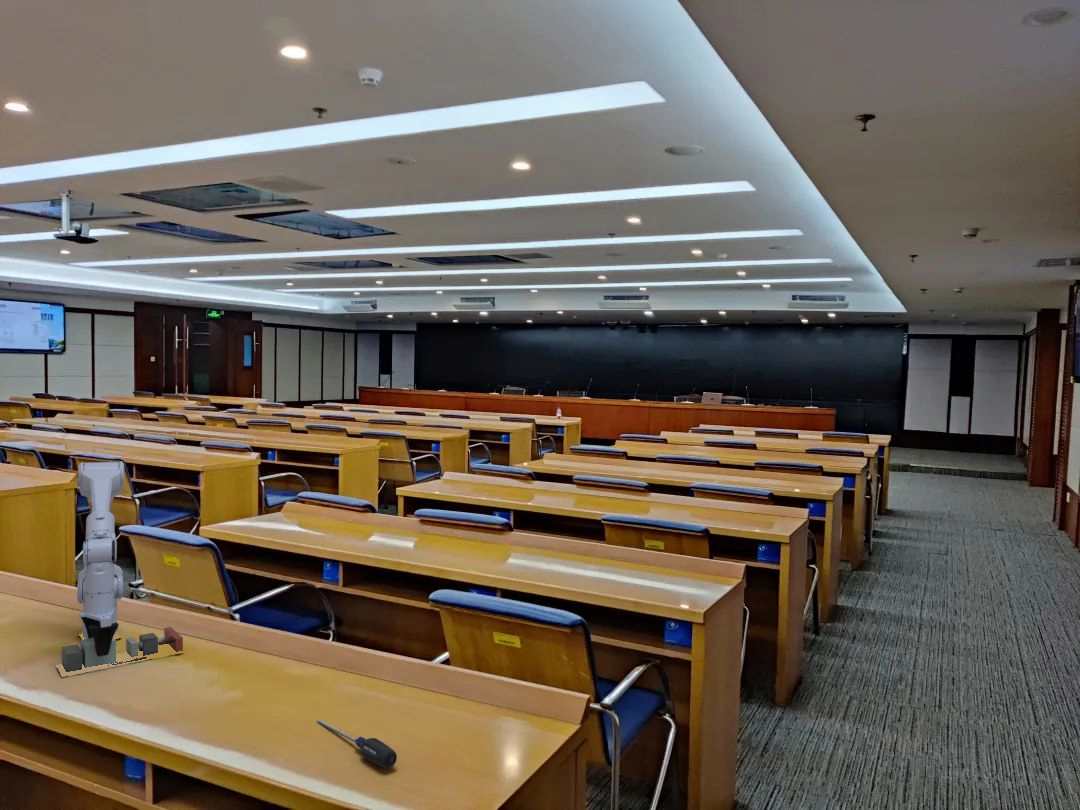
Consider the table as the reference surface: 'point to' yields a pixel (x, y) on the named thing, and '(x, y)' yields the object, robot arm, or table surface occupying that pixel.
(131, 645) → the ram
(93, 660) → the block
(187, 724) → the table surface
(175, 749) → the table surface
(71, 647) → the frame
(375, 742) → the screwdriver
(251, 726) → the table surface
